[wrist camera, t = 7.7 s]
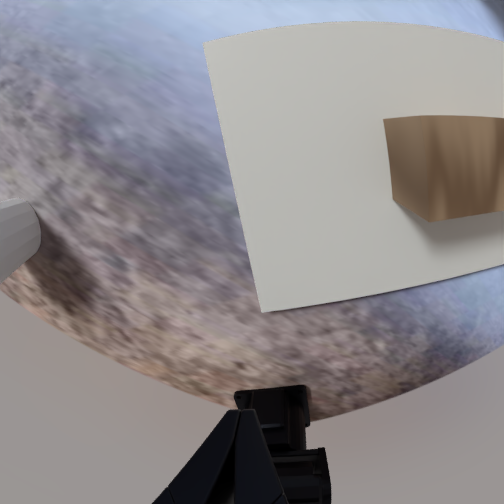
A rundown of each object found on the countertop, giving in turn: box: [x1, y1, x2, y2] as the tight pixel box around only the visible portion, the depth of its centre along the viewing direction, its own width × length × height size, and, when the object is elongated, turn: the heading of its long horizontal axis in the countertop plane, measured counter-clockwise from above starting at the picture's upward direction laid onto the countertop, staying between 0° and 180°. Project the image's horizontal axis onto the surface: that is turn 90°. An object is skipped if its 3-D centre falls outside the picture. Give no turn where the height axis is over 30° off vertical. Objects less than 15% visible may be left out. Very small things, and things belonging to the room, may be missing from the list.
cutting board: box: [203, 21, 504, 313], centre depth 16 cm, size 18×24×1 cm
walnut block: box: [383, 115, 504, 222], centre depth 13 cm, size 5×5×11 cm
